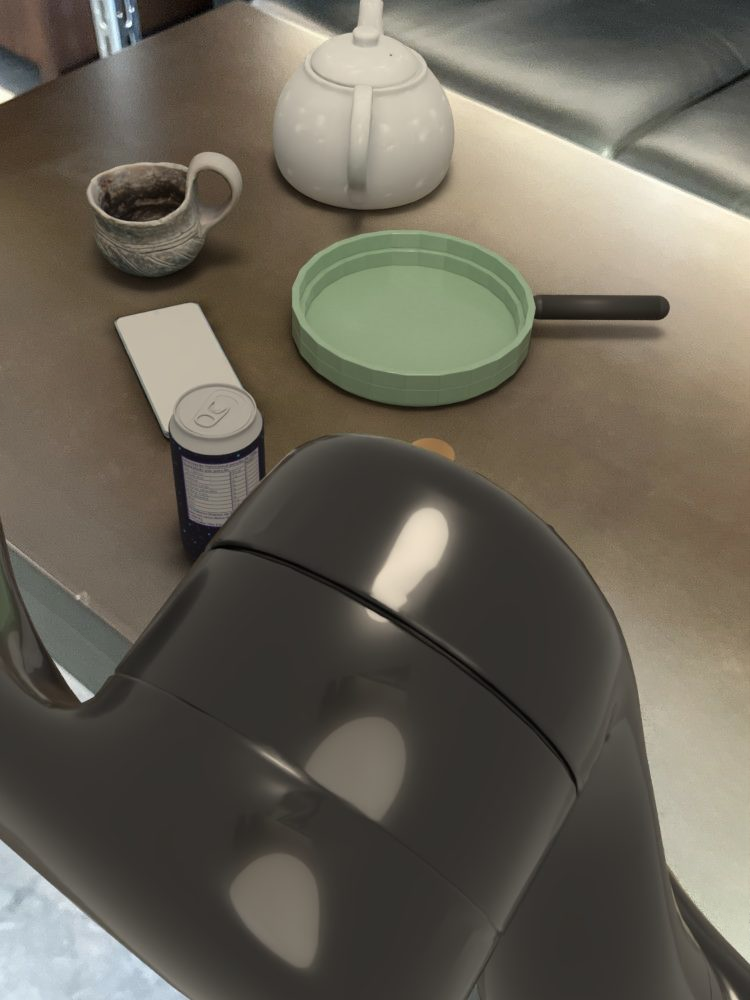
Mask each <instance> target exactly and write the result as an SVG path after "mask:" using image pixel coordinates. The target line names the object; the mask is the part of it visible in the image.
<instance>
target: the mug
mask: <svg viewBox="0 0 750 1000" xmlns="http://www.w3.org/2000/svg"><path fill="white" fill-rule="evenodd" d="M202 171H210V172H214V173H215V174H217V175H220V176H221V177H222V178H223V179H224V180H225V182H226V183H227V184H228V187H229V189H230V195H229V196H228V198H227V199H226V200H225V201H224V202H223V203H221V204H219V205H215V206H207V205H204V204H202V203H201V201H200V199H199V190H198V188H199V186H198V185H199V183H198V179H199V178H198V177H199V175H200V173H201V172H202ZM89 182H90V183H89V184H88V185H87V187H86V188H87V189H86V199H87V202H88V204H89V206H90V208H91V210H92V211H93V212H94V213H93V219H92V221H93V224H92V225H93V226H92V227H93V233H94V239H95V243H96V246H97V248H98V250H99V252H100V254H101V255H102V256H103V258H104V259H105V260H107V261H108V263H110V264H111V265H112V266H113V267H114V268H116V269H117V270H119V271H121V272H123V273H125V274H130V275H132V276H137V277H144V278H145V277H147V278H161V277H164V276H165V277H166V276H168V275H171V274H173V273H176V272H178V271H180V270H183V269H185V267H188V266H189V265H190V264H192V263H193V261H194V260H195V259H196V257H197V256H198V255H199V253H200V252H201V250H202V248H203V247H204V244H205V242H206V238H207V236H208V235H207V234H208V232H209V231H211V230H212V229H214V228H215V227H217V226H218V225H219V224H221V223H222V222H223V221H225V220H226V219H227V218H228V217H229V215H231V214H232V212H234V210H235V208H236V207H237V204H238V203H239V202H240V199H241V195H242V192H243V178H242V174H241V171H240V169H239V168H238V166H237V164H236V163H235V162H234V161H233V160H232V159H231V158H229V157H228V156H226V155H224V154H222V153H219V152H215V151H204V152H199V153H198V154H196V155H195V156H193V158H192V159H191V160H190V162H189V165H188V167H187V166H186V165H183V164H181V163H180V164H179V163H174V162H168V161H167V162H165V161H160V162H151V161H143V162H135V163H130V164H129V163H128V164H123V165H118V166H115V167H113V168H110V169H108V170H105V171H102V172H100V173H98V174H97V175H95V176H94V177H92V178H91V180H90V181H89Z"/></svg>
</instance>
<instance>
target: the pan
mask: <svg viewBox="0 0 750 1000" xmlns="http://www.w3.org/2000/svg"><path fill="white" fill-rule="evenodd" d="M533 296H534V295H533V290H532V287H530V284H529V283H528V282H527V280H526V279H525V278H524V276H523V275H522V273H521V272H520V271H519V270H518V269H517V268H516V267H515V266H514V265H512V264H511V263H510V262H509V261H508V260H507V259H505V258H504V257H503V256H502V255H500V254H498V253H496V252H494V251H493V250H491V249H489V248H487V247H485V246H483V245H481V244H479V243H477V242H474V241H472V240H467V239H464V238H461V237H458V236H455V235H452V234H448V233H441V232H435V231H429V230H423V229H421V230H419V229H385V230H380V231H373V232H365V233H360V234H357V235H354V236H351V237H347V238H345V239H342V240H339V241H336V242H334V243H332V244H330V245H329V246H327V247H325V248H324V249H322V250H320V251H318V252H317V253H315V254H314V255H313V256H312V257H311V258H310V259H309V260H308V261H306V263H305V264H304V265H303V266H302V267H301V268H300V269H299V271H298V274H297V276H296V278H295V279H294V281H293V284H292V287H291V336H292V338H293V340H294V342H295V346H296V348H297V350H298V352H299V355H301V357H302V358H303V359H304V360H305V361H306V362H307V363H308V364H309V365H310V366H311V367H312V369H313V370H314V371H315V372H316V373H317V374H319V375H320V376H322V377H323V378H325V379H326V380H328V382H330V383H332V384H333V385H335V386H336V387H339V388H340V389H342V390H344V391H345V392H349V393H350V394H353V395H355V396H357V397H360V398H364V399H367V400H369V401H372V402H373V401H374V402H377V403H383V404H387V405H392V406H393V405H394V406H399V407H400V406H401V407H418V408H420V407H436V406H445V405H452V404H455V403H460V402H464V401H467V400H470V399H473V398H476V397H478V396H480V395H483V394H485V393H487V392H489V391H491V390H494V389H495V388H497V387H499V386H500V385H501V384H503V382H505V381H506V380H508V379H509V378H510V377H512V376H513V375H515V374H516V372H517V371H518V369H519V368H520V367H521V365H522V363H523V362H524V361H525V359H526V358H527V356H528V353H529V348H530V343H531V338H532V332H533V328H534V327H533V326H534V321H535V319H534V316H535V310H536V306H535V302H534V298H533Z"/></svg>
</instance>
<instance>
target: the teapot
mask: <svg viewBox="0 0 750 1000" xmlns="http://www.w3.org/2000/svg"><path fill="white" fill-rule="evenodd" d="M358 7H359V9H358V10H359V11H358V18H357V24H356V27H355V28H354V29H353V30H352V32H346V33H341V34H339V35H336V36H332V37H331V38H329V39H327V40H325V41H324V42H323V43H321V44H319V45H318V46H316V47H314V48H313V49H312V50H310V51H309V52H308V54H307V55H306V56H305V58H304V61H303V62H302V63H301V64H300V65H299V66H298V67H297V68H296V69H295V71H294V72H293V73H292V75H291V76H290V77H289V79H288V80H287V82H286V84H285V85H284V87H283V89H282V91H281V93H280V94H279V95H280V96H279V97H278V100H277V103H276V107H275V109H274V110H275V111H274V114H273V123H272V143H273V144H272V145H273V152H274V158H275V161H276V164H277V167H278V169H279V171H280V173H281V175H282V176H283V178H285V180H286V181H287V182H288V183H289V184H290V186H292V187H293V188H294V189H295V190H296V191H298V192H300V193H301V194H303V195H304V196H306V197H308V198H310V199H312V200H315V201H317V202H319V203H322V204H325V205H329V206H333V207H337V208H343V209H348V210H349V209H350V210H359V211H361V210H362V211H363V210H365V211H366V210H367V211H368V210H371V211H372V210H384V209H391V208H398V207H402V206H405V205H408V204H411V203H414V202H416V201H419V200H420V199H423V198H424V197H426V196H427V195H429V194H431V193H432V192H433V191H434V190H435V189H436V188H437V187H438V186H440V184H441V183H442V181H443V180H444V178H445V177H446V175H447V173H448V170H449V168H450V165H451V162H452V159H453V153H454V147H455V121H454V115H453V111H452V108H451V104H450V101H449V98H448V96H447V94H446V92H445V89H444V88H443V86H442V84H441V83H440V81H439V80H438V78H437V76H436V74H434V73H433V71H432V70H431V69H430V68H429V67H428V65H427V62H426V60H425V59H424V57H423V56H422V55H421V54H420V53H419V52H418V51H416V50H415V49H413V48H411V47H409V46H407V45H405V44H404V43H402V42H401V41H399V40H397V39H395V38H394V37H391V36H388V35H385V31H384V23H383V12H384V1H383V0H359V6H358Z"/></svg>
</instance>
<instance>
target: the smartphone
mask: <svg viewBox="0 0 750 1000" xmlns="http://www.w3.org/2000/svg"><path fill="white" fill-rule="evenodd" d="M113 322H114V327H115V329H116V331H117V333H118V335H119V339H121V342H122V344H123V346H124V349H125V351H126V353H127V355H128V357H129V360H130V363H131V364H132V366H133V369H134V371H135V373H136V375H137V378H138V380H139V383H140V384H141V386H142V389H143V392H144V393H145V395H146V397H147V400H148V402H149V404H150V406H151V409H152V410H153V414H154V415H155V417H156V419H157V422H158V424H159V427H160V428H161V431H162V433H163V435H164V436H165V437H166V438H168V439H169V431H168V425H169V421H170V418H171V416H172V414H173V409H174V405H175V403H176V401H177V400H178V398H179V397H180V396H181V395H182V394H183V393H184V392H186V391H187V390H189V389H191V388H193V387H196V386H198V385H202V384H207V383H227V384H231V385H235V386H237V387H240V388H242V389H244V390H245V387H244V386H243V384H242V382H241V380H240V378H239V377H238V374H237V372H236V370H235V369H234V367H233V365H232V364H231V362H230V360H229V358H228V356H227V354H226V353H225V351H224V349H223V347H222V345H221V343H220V341H219V339H218V338H217V336H216V334H215V332H214V330H213V329H212V327H211V325H210V323H209V321H208V320H207V318H206V316H205V314H204V312H203V310H202V309H201V306H200V304H199V303H197V302H196V301H186V302H182V303H176V304H173V305H168V306H163V307H158V308H153V309H149V310H145V311H144V310H143V311H139V312H136V313H132V314H131V313H130V314H126V315H123V316H117V317H116V318H115V319H114V320H113ZM245 391H246V390H245Z"/></svg>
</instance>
